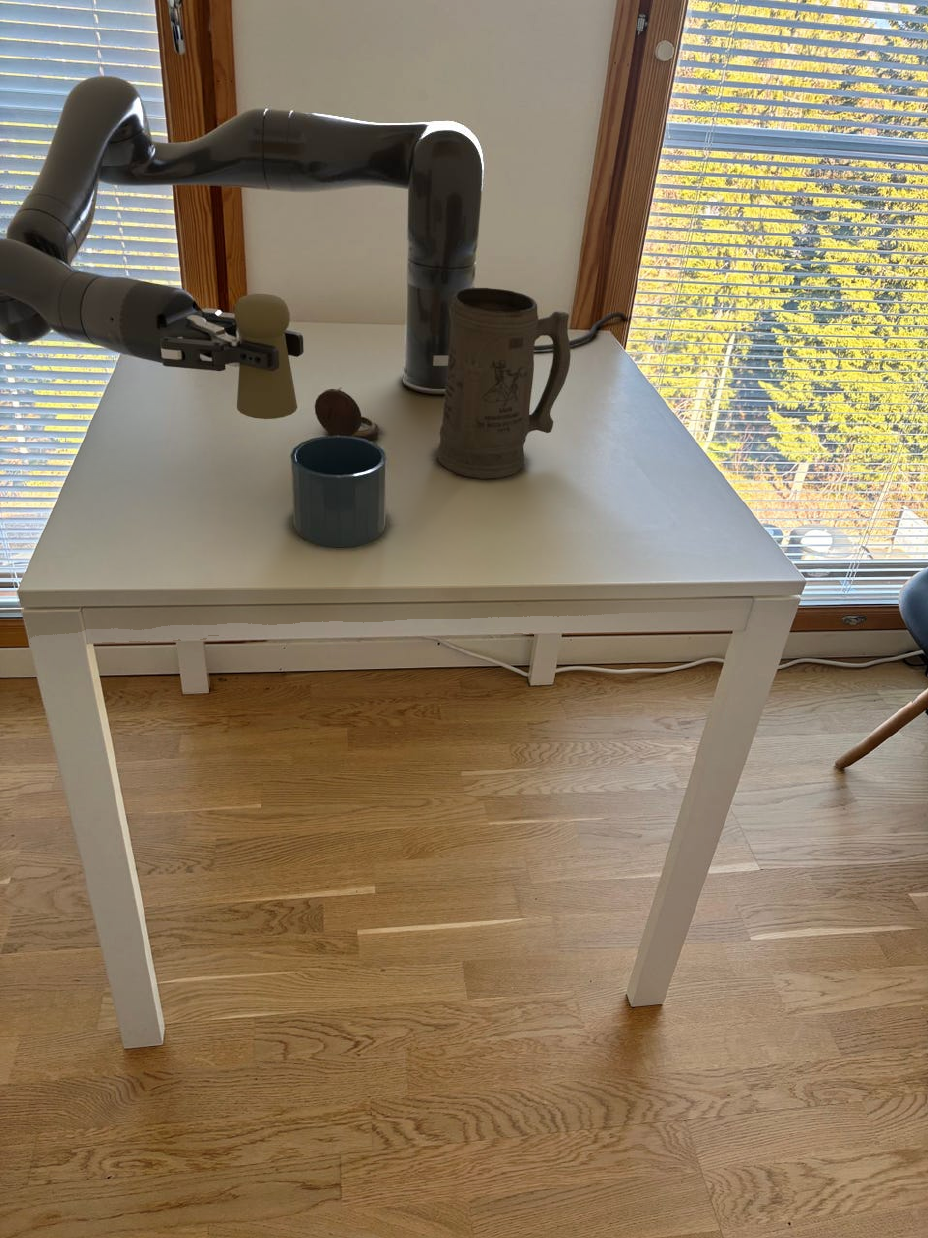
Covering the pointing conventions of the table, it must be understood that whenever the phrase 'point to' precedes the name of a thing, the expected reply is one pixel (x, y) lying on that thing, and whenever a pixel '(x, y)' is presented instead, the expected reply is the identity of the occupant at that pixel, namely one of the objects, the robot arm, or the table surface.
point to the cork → (258, 387)
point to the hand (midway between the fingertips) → (288, 352)
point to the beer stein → (496, 380)
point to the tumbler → (338, 490)
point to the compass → (343, 416)
